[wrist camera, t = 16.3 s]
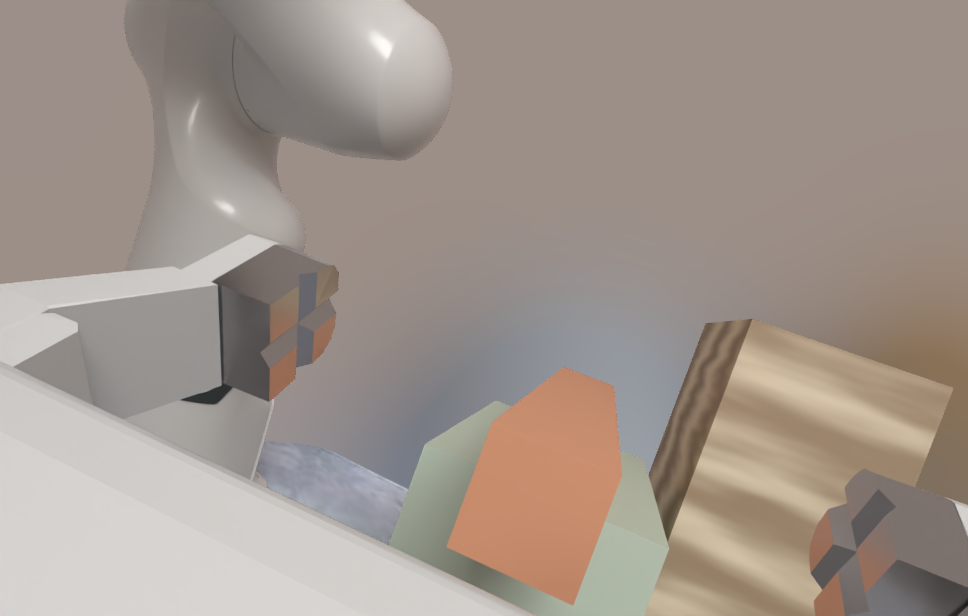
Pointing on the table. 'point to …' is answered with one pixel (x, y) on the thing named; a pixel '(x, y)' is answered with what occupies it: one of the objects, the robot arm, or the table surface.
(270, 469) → the table surface
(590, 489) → the salmon square-ended bar
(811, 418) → the tower
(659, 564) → the sage green block
